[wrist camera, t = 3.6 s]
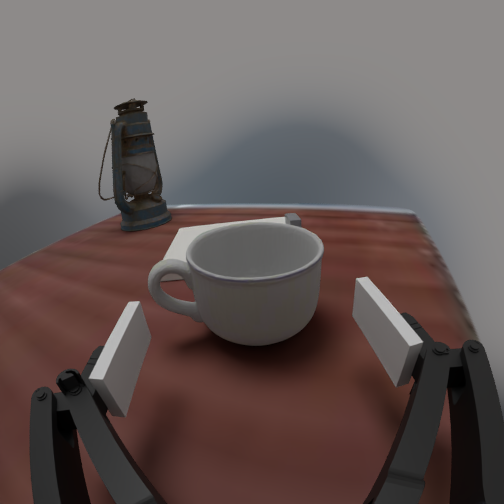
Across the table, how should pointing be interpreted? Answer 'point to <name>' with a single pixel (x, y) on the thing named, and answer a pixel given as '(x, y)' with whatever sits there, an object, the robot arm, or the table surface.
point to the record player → (191, 233)
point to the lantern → (136, 169)
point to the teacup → (247, 281)
